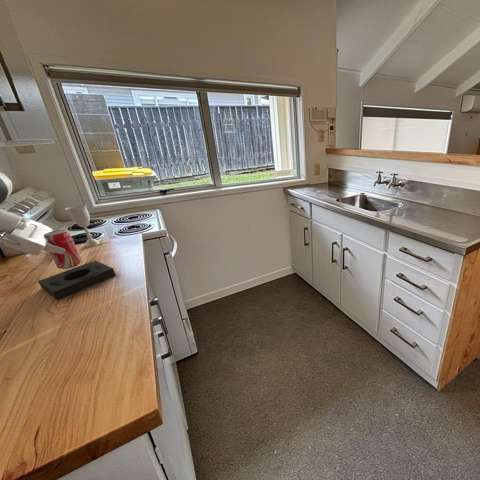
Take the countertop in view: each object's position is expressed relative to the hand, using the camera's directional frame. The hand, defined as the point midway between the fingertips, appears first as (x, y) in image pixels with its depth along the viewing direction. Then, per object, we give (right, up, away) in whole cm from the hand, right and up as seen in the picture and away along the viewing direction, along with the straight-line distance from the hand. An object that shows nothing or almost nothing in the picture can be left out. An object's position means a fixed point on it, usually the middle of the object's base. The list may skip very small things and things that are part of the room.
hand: (65, 248), depth 83 cm
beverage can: (0, -6, +2) cm, 7 cm away
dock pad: (0, -12, +5) cm, 13 cm away
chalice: (-23, 0, +36) cm, 43 cm away
